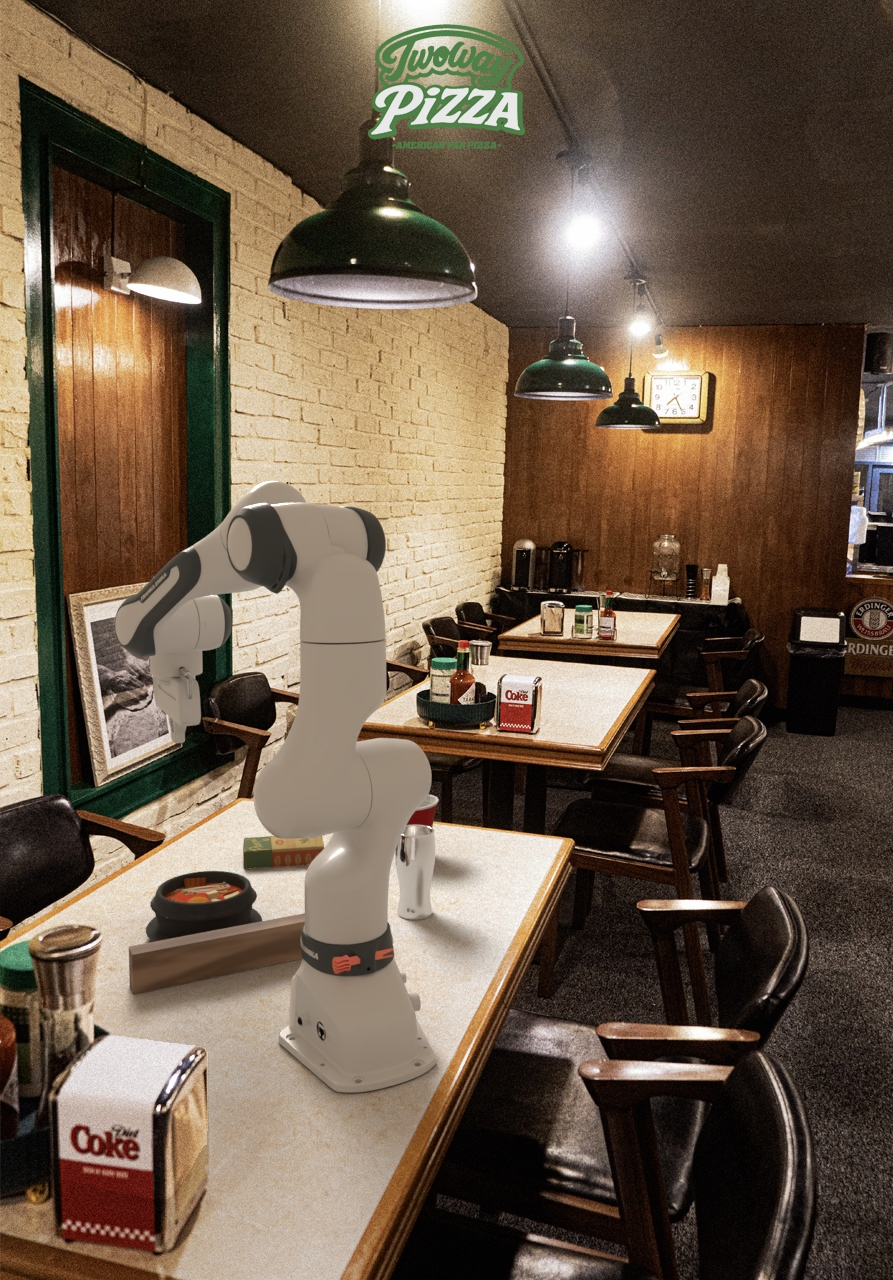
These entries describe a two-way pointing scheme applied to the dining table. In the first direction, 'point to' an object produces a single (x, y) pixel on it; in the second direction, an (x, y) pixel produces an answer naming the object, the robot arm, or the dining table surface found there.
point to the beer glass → (415, 871)
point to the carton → (280, 851)
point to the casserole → (201, 904)
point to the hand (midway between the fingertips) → (178, 741)
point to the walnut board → (214, 953)
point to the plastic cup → (425, 812)
